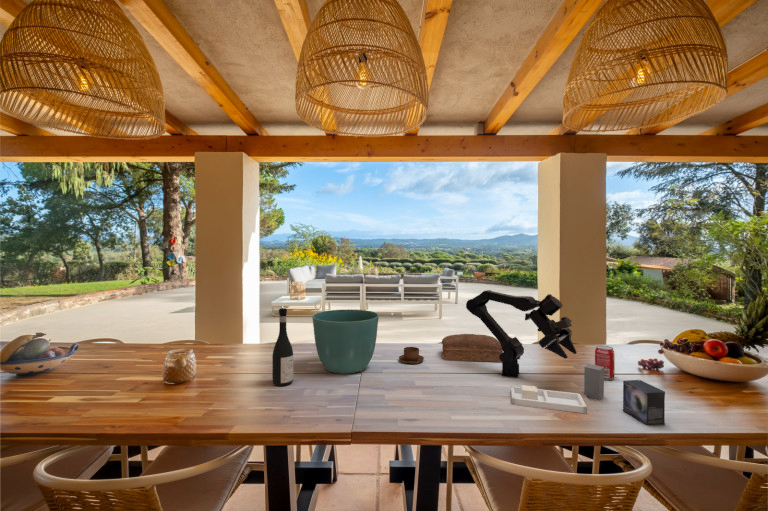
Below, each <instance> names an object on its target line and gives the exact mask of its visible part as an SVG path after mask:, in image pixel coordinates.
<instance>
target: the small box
mask: <svg viewBox="0 0 768 511" xmlns="http://www.w3.org/2000/svg"><path fill="white" fill-rule="evenodd" d="M622 382H623V384H622V385H623V388H622V392H623V393H622V394H623V396H622V411H623V412H625V413H626V414H628V415H630V417H633V418H635V419H636V420H637V421H639V422H641V423H642V424H644V425H645V426H661V425H662V426H663V425H664V426H665V424H666V419H665V410H666V409H665V408H666V407H665V404H666V403H665V401H666V398H665V397H666V391H665V390H662V389H660V388H658V387H657V386H654V385H652V384H650V383H647V382H645V381H643V380H641V379H633V380H623V381H622Z"/></svg>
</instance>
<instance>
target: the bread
mask: <svg viewBox="0 0 768 511" xmlns="http://www.w3.org/2000/svg"><path fill="white" fill-rule="evenodd" d="M441 340H442V341H441V345H442V348H441V350H442V357H443V359H444V361H456V362H457V361H459V362H460V361H463V362H486V361H490V362H489V363H492V362H494V363H502V361H500V358H499V356H500V355H501V354H502V353H503V350H502V347H501V344H500V342H499V341H498V340H497V338H496V337H495V336H494V337H493V336H491V335H488V334H487V335H486V334H476V333H460V334H450V335H447V336H444V337H443V339H441Z"/></svg>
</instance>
